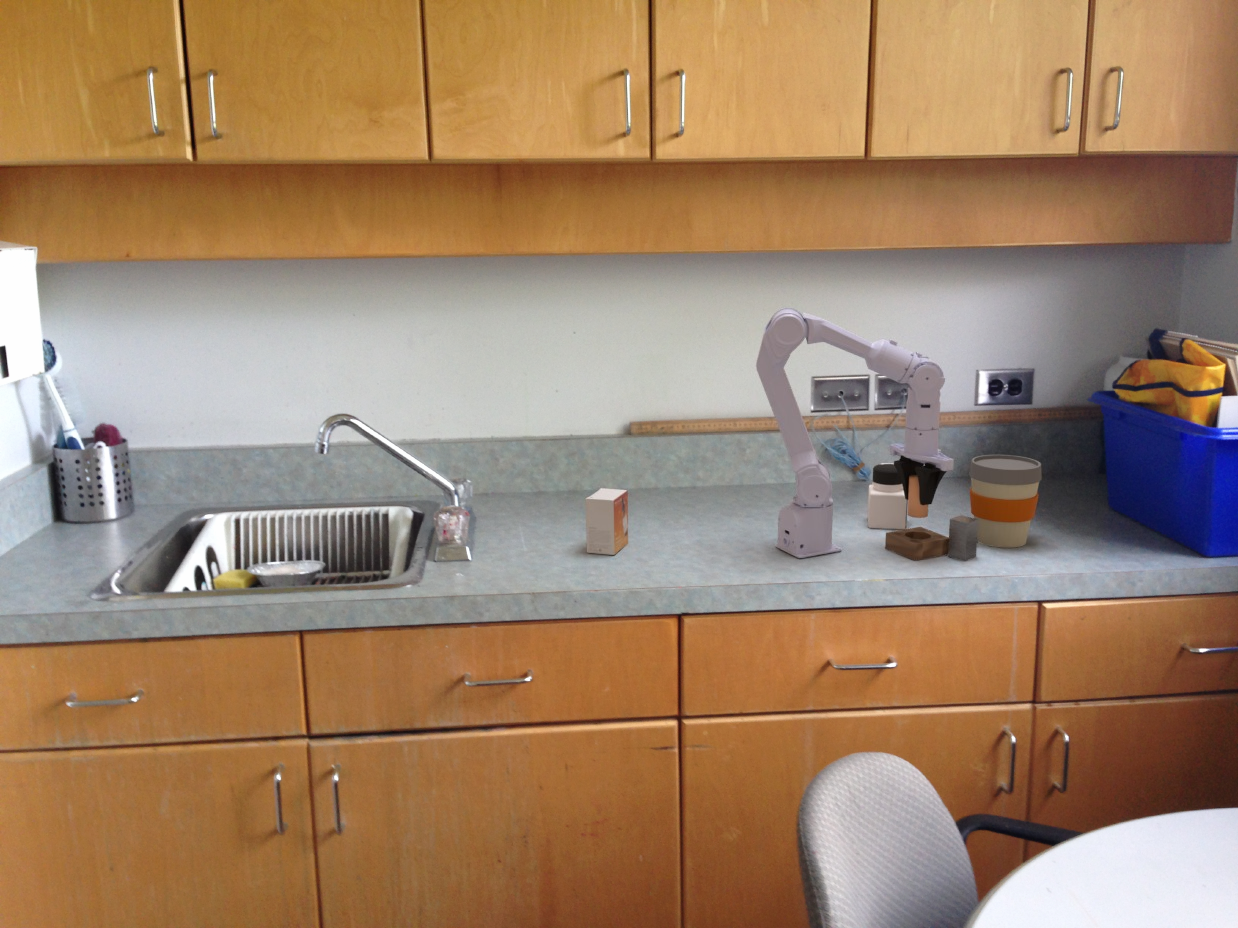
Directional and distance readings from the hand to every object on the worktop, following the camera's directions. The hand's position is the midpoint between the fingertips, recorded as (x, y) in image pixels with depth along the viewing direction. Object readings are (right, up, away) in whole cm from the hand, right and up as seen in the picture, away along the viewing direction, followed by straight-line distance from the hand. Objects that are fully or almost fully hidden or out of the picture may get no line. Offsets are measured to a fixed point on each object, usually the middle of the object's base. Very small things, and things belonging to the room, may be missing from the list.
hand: (918, 501), depth 185 cm
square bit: (+8, -10, -1) cm, 12 cm away
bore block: (0, -9, +3) cm, 10 cm away
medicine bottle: (-1, -5, +19) cm, 20 cm away
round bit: (0, -2, +1) cm, 2 cm away
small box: (-56, -9, +8) cm, 57 cm away
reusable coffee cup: (+18, -8, +8) cm, 21 cm away
